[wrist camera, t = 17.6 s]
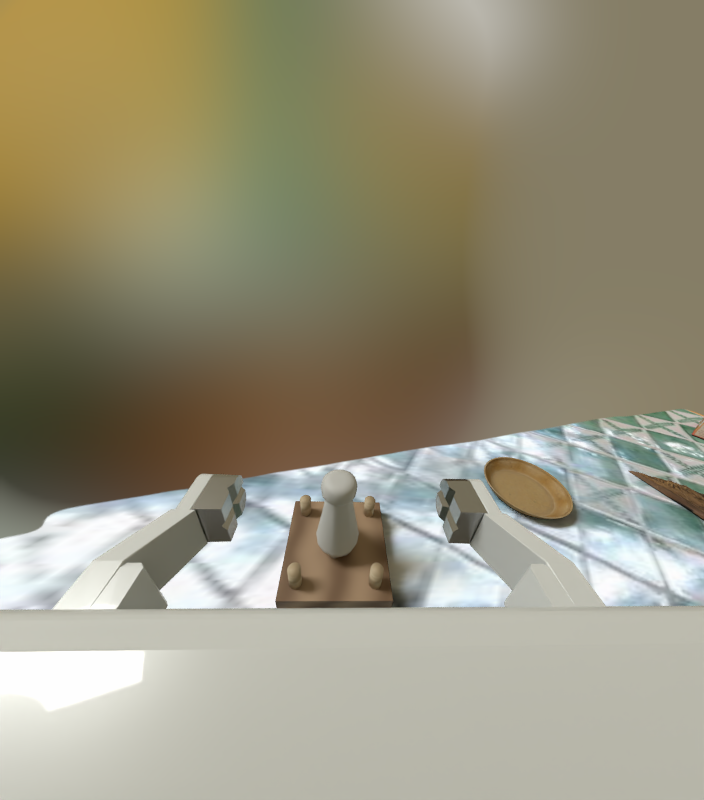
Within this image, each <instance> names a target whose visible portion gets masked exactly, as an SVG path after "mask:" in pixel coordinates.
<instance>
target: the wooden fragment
mask: <svg viewBox="0 0 704 800" xmlns="http://www.w3.org/2000/svg"><path fill="white" fill-rule="evenodd" d="M629 472H631V473H632V474H633V475H635V476H637V477H638V478H640V479H642V480H643V481H645V482H646V483H648V484H649V485H651V486H652V487H654V488H656V489H657V490H659V491H660V492H662V493H663V494H665V495H666V496H668V497H670V498H672V499H673V500H675V501H676V502H678V503H680V504H682V505H683V506H684V507H686V508H687V509H689V510H691V511H692V512H693V513H695V514H697V515H698V516H699V517H701V518H702V519H704V494H701V493H698V492H696V491H694V490H692V489H690V488H688V487H687V486H684V485H679V484H677V483H674V482H672V481H669V480H668V481H666V480H662V479H660V478H656V477H651V476H648V475H645V474H642V473H639V472H634V471H629Z"/></svg>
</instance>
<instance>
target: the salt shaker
mask: <svg viewBox="0 0 704 800" xmlns="http://www.w3.org/2000/svg"><path fill="white" fill-rule="evenodd" d="M321 490H322V496H323V498H324V499H325V502H324V506H323V510H322V514H321V518H320V522H319V525H318V529H317V532H316V535H317V542H318V545H319V546H320V548H321V549H322V551H323V552H324V553H326V554H328V555H329V556H331V557H332V558H333V559H334V558H338V557H342V556H346V555H347V554H349V553H350V552H351V551H352V549H353V548H354V547H355V545H356V543H357V540H358V535H359V532H358V526H357V521H356V516H355V510H354V505H353V499H354V497H355V495H356V491H357V482H356V479H355V477H354V476H353V475H352V474H351V473H350V472H348V471H345V470H334V471H331V472H329V473H327V474H326V475H325V476H324V478H323V481H322V484H321Z"/></svg>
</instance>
